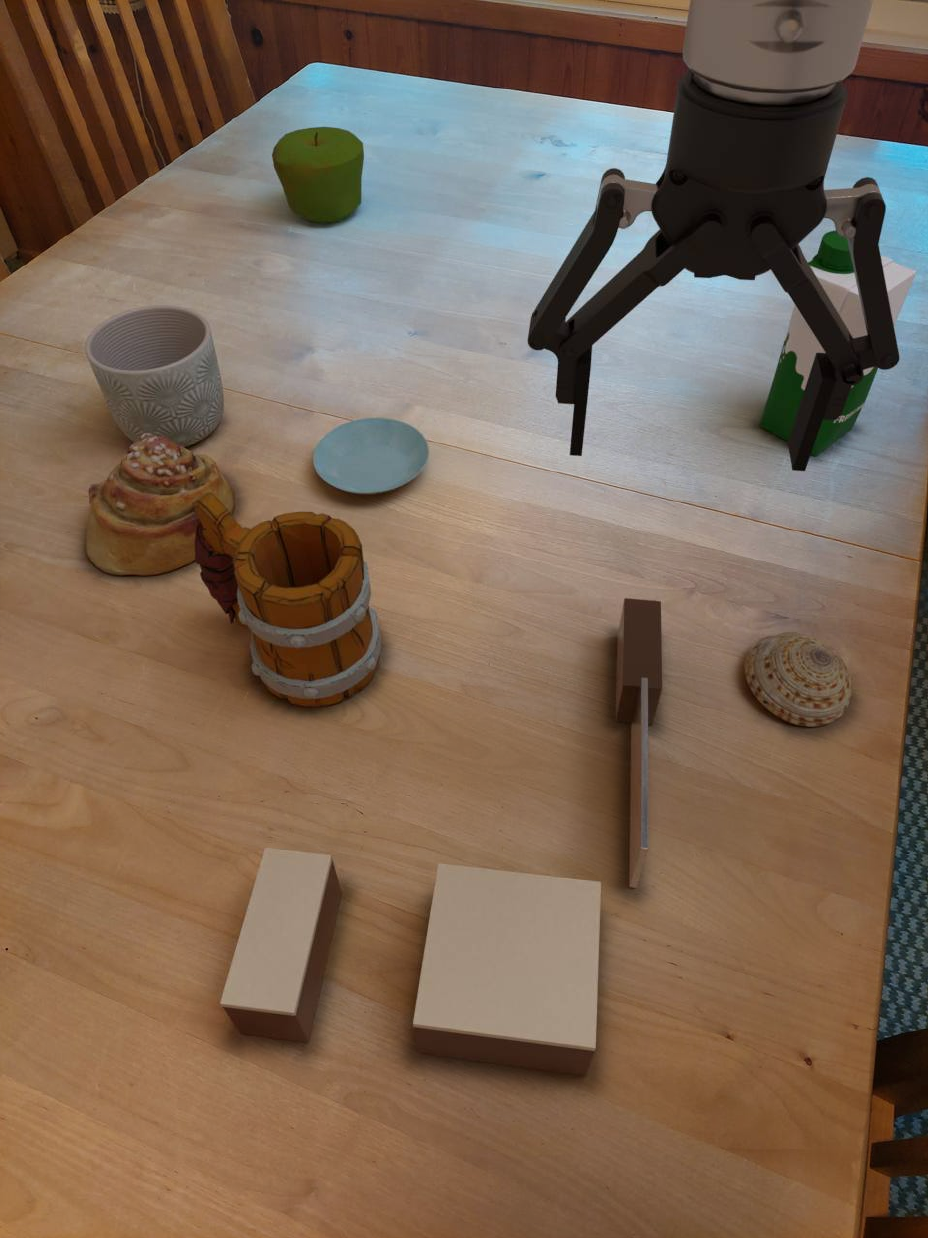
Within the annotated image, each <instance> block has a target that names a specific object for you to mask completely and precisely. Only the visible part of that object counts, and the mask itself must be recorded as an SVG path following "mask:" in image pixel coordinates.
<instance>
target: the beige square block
mask: <svg viewBox="0 0 928 1238" xmlns="http://www.w3.org/2000/svg"><path fill="white" fill-rule="evenodd" d="M601 896H602V882H601V881H597V880H589V879H588V880H587V879H579V878H578V879H577V878H570V877H563V876H552V875H544V874H537V873H536V874H535V873H526V872H519V871H509V870H501V869H492V868H485V867H484V868H483V867H474V866H467V865H466V866H465V865H459V864H449V863H441V862H438V863H437V868H436V875H435V880H434V887H433V894H432V900H431V906H430V912H429V919H428V925H427V931H426V937H425V943H424V948H423V949H424V951H423V956H422V962H421V969H420V973H419V982H418V988H417V994H416V999H415V1006H414V1012H413V1019H412V1027H413V1031H414V1037H415V1041H416V1046H417V1052H418V1054H421V1055H429V1056H435V1057H443V1058H451V1059H455V1060H456V1059H457V1060H464V1061H472V1062H480V1063H486V1064H494V1065H501V1066H509V1067H515V1068H516V1067H517V1068H523V1069H531V1070H539V1071H546V1072H553V1073H561V1074H566V1075H567V1074H568V1075H576V1076H582V1077H587V1075H588V1072H589V1069H590V1066H591V1063H592V1060H593V1057H594V1054H595V1052H596V1049H597V1021H598V990H599V961H600V960H599V958H600V931H601V929H600V928H601V898H602V897H601Z"/></svg>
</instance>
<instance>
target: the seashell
mask: <svg viewBox="0 0 928 1238" xmlns="http://www.w3.org/2000/svg"><path fill="white" fill-rule="evenodd" d="M847 667H848V666H847V665H846V663H845V662H844V660H843V658H842V657H841V656H840V655H839V653H837V652H836V650H835V649H834V648H832V647H831V646H830V645H828V644H827V643H826V642H824V641H822V640H819V639H817V638H815V637H812V636H811V635H807V634H805V633H801V632H796V631H785V632H781V633H777V634H774V635H767V636H764V637H761V638H759V639H758V640H757V641H755V642H754V644H753V645H751V646H750V648H749V650H748V652H747V654H746V657H745V660H744V674H745V679H746V681H747V684H748V687H749V689H750V691H751V693H752V695H754V697H755V698H756V699H757V700H758V702H759V703H760V704H761V705H762V706H763V707H764V708H766V709H767V710H768V711H769V712H770V713H772V714H773V715H775V716H776V717H778V718H779V719H781V720H783V721H785V722H788V723H789V724H793V725H796V726H800V727H801V726H802V727H807V728H808V727H809V728H813V727H814V728H815V727H822V726H826V725H829V724H831V723H833V722H836V721H837V720H838V719H840V718H841V717H842V716H843V715H844V713H845V712H846V711H847V708H848V707H849V704H850V702H851V698H852V689H853V687H852V680H851V674H850V673H849V670H848V668H847Z"/></svg>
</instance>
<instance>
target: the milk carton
mask: <svg viewBox="0 0 928 1238" xmlns="http://www.w3.org/2000/svg"><path fill="white" fill-rule="evenodd" d="M881 261H882V266H883V271H884V277H885V282H886V287H887V293H888V298H889V303H890V309H891V314H892V319H893V325H894V327H895V326H896V323H897V321H898V318H899V315H900V313H901V310H902V309H903V306H904V304H905V301H906V300H907V296H908V295H909V292H910V289H911V287H912V284H913V282H914V280H915V277H916V275H917V274H918V271H917V270H914V269H912V268H909V267H907V266H904V265H902V264H900V263H896V262H894V260H893V259H892V258H889V257H888V256H887V257H886V256H884V255H881ZM807 262H808V264H809V265H810V267H811V269H812V270H813V272H814V274H815V275H816V277H817V279H818V280H819V282H820V284H821V285H822V287H823V289H824V290H825V292H826V294H827V295H828V297H829V298H830V300H831V302H832V303H833V305H834V307H835V308H836V310H837V312H838V313H839V315H840V317H841V318H842V320H843V322H844V323H845V325H846V327H847V328H848V330H849V332H850V333H851V335H852V337H853V338H857V337H862V336H866V335H867V330H866V325H865V321H864V316H863V311H862V306H861V302H860V297H859V292H858V288H857V283H856V278H855V273H854V269H853V264H852V259H851V254H850V250H849V245H848V240H847V238H846V237H841V236H839V235H838V234H837V232H836V229H835V230H830V231H827V232H826V233H824V234H823V236H822V238H821V241H820V244H819V247H818V249H817V253H816V254H815V255H814V256H813V257H812V259H811V260H810V261H807ZM787 326H788V327H787V330H786V332H785V337H784V341H783V344H782V348H781V351H780V353H779V354H780V355H779V358H778V361H777V365H776V367H775V372H774V376H773V380H772V382H771V385H770V389H769V393H768V396H767V399H766V402H765V405H764V409H763V413H762V416H761V419H760V422H759V425H758V426H759V427H760V428H762V429H763V430H765V431H767V432H769V433H771V434H772V435H774V436H776V437H778V438H780V439H782V440H783V441H786V442H788V441H789V437H790V434H791V431H792V428H793V425H794V422H795V419H796V415H797V412H798V409H799V406H800V403H801V400H802V396H803V393H804V390H805V387H806V384H807V381H808V378H809V374H810V371H811V368H812V365H813V362H814V359H815V355H816V353H825V351H824V349H823V348H822V346H821V345H820V343H819V342H818V340H817V338H816V337H815V335H814V334H813V332H812V330H811V329H810V327H809V326H808V324H807V323H806V321H805V319H804V318H803V316H802V315H801V313H800V311H799V310H798V308H797V307H796V305H795V304H794V305H793V310H792V312H791V315H790V319H789V323H788V325H787ZM878 370H879V368H878V367H872V368H868V369H865V370H863V373H864V376H863V379H862V380H861V382H859V383H858V384H856V385H853V386H852V387H851V390H850V393H849V395H848V398H847V401H846V404H845V406H844V409H843V412H842V414H841V415H840V416H839V417H838V418H837V420H822V423H821V426H820V429H819V432H818V435H817V438H816V441H815V444H814V447H813V449H812V452H811V455H812V456H814V457H817V456H819V455H820V454H821V453H822V452H824V451H825V450H826V449H828V448H829V447H830V446H832V445H833V444H834V443H836V442H837V441H838V440H839V439H841V438H842V437H843V436H844V435H846V434H847V433H848V432H850V431H851V430H852V429H853V428H854V426H855V424H856V421H857V419H858V418H859V415H860V413H861V412H862V409H863V408H864V405H865V402H866V401H867V398H868V395H869V393H870V390H871V388H872V385H873V383H874V380H875V377H876V375H877V372H878Z"/></svg>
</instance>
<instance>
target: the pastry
mask: <svg viewBox="0 0 928 1238" xmlns="http://www.w3.org/2000/svg"><path fill="white" fill-rule="evenodd" d="M207 492H210V493H212V494H213V495H215V496H216V497H217V498H218V499H219V500H220V501H221V502H222V503H223V505H224V506H225V507H226V508H227V509H228V510H229V512H230V513H231V514H232V515H233V512H234V510H235V508H236V507H235V506H236V499H235V498H236V497H235V492H234V490H233V489H232V487H231V485H230V484H229V482H228V481H227V479H226V478H225V476H224V475H223V474H222V472H221V471H220V469H219V467H218V465H217V463H216V461H214V459H212V457H209V456H207V455H206V454H200V453H195V452H194V451H191V450H190V449H187V448H186V447H182V446H180V445H178V444H176V443H175V442H174V441H171V440H169V439H168V438H166V437H164V436H154V435H152V434H149V433H144V434H143V435H142V436H141V438H140V440H139V441H137V442H133V443H132V444H131V445H129V447H128V450H126V452H125V453H124V454H123V455H122V458H121V460H120V462H119V463H117V464H116V465H115V466H114V467H113V469H112V470H111V472H110V473H109V474H108V476H107V477H106V479H104V480H103V481H101V482H98V483H92V484H90V486H89V487H88V499H89V500H88V501H89V504H90V505H89V507H90V508H89V515H88V520H87V528H86V529H87V530H86V554H87V556H88V558H89V560H90V561H91V562H92V563H93V564H94V566H95V567H96V568H98V569H99V570H100V571H102V572H104V573H107V574H111V575H117V576H132V575H133V576H134V575H135V576H142V577H143V576H144V577H145V576H156V575H161V574H164V573H169V572H172V571H174V570H177V569H180V568H183V567H184V566H186V565H188V564H191V563H192V562H195V533H196V528H197V526H198V524H199V522H200V520H199V518H198V516H197V514H196V512H195V510H194V508H193V504H192V503H193V502H194V501H195V500H196V499H197V498H199V497H200V496H201V495H202V494H204V493H207Z"/></svg>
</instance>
